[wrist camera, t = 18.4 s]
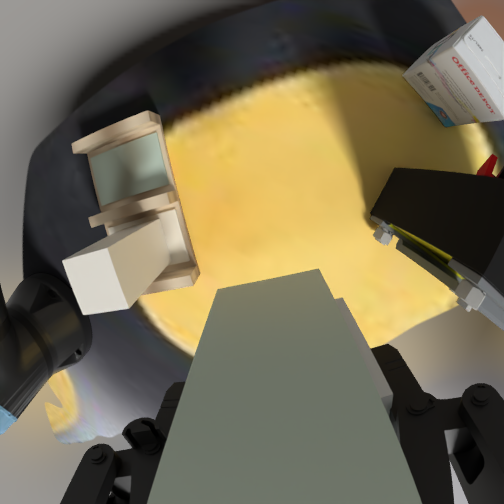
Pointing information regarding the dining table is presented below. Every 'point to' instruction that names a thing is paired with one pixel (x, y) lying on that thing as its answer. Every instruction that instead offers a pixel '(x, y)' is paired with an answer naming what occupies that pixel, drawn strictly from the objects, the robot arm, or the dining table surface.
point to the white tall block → (118, 267)
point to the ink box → (462, 75)
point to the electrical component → (450, 230)
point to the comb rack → (140, 190)
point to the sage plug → (280, 408)
